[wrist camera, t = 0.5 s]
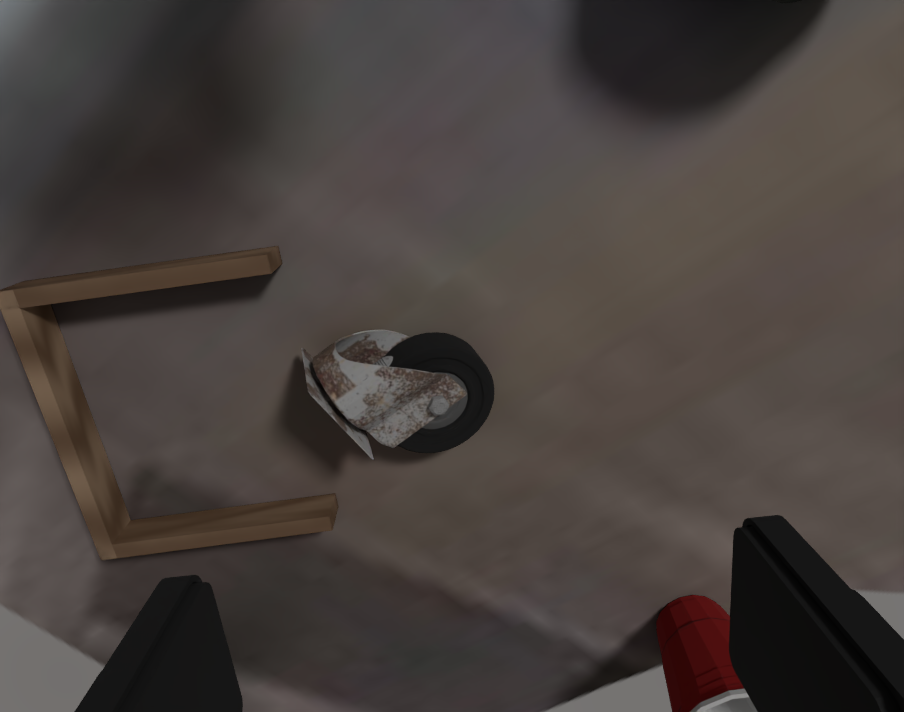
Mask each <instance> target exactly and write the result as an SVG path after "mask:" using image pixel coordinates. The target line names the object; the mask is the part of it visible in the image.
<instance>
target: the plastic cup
mask: <svg viewBox="0 0 904 712" xmlns="http://www.w3.org/2000/svg"><path fill="white" fill-rule="evenodd" d="M656 625H657V629H656V630H657V637H658V642H659V646H660V651H661V655H662V662H663V669H664V674H665V678H666V683H667V688H668V693H669V698H670V703H671V708H672V712H757V710H756V708H755V706H754V705H753V703H752V701H751V699H750V698H749V696H748V694H747V692H746V691H745V689H744V687H743V685H742V683H741V682H740V680H739V678H738V676H737V675H736V673H735V671H734V669H733V666H732V663H731V660H730V655H729V630H730V616H729V615H728V614H727V613H726V612H725V611H724V609H723V608H722V607H721V606H719V605H718V604H717V603H716V602H715V601H713V600H711V599H709V598H707V597H705V596H697V595H690V596H685V597H680V598H678V599H676V600H674V601H672V602H671V603H669V604H667V606H666V607H665V608H664V609H663V610H662V611H661V612H660V614H659V617H658V619H657V622H656Z"/></svg>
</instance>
